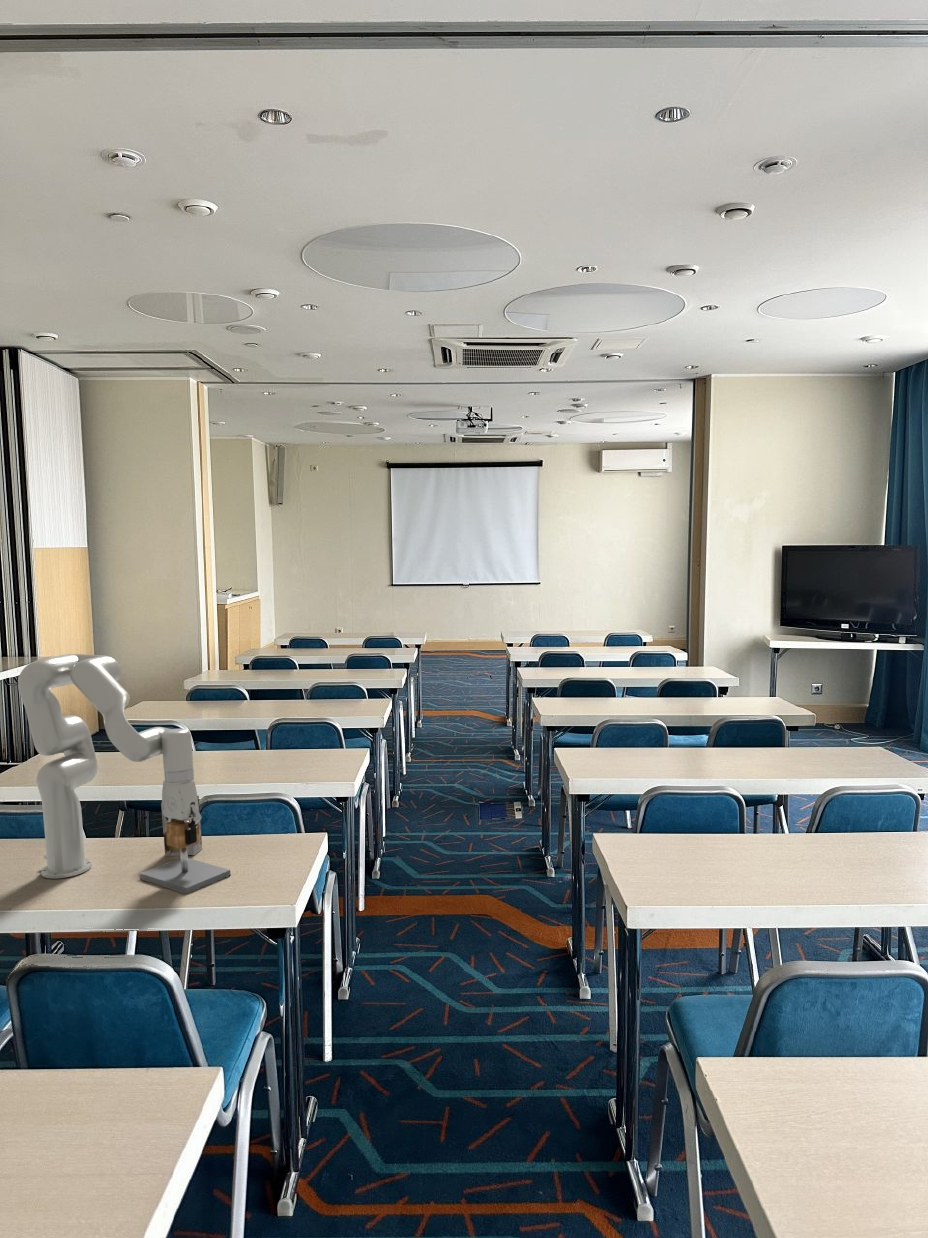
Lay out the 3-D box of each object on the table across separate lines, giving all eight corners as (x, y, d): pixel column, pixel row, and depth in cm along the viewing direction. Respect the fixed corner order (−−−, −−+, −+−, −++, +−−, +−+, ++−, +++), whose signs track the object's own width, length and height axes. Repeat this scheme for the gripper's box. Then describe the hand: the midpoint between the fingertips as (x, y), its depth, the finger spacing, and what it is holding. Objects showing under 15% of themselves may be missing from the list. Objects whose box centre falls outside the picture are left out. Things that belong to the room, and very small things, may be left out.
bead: (167, 845, 221) (165, 823, 220) (186, 838, 225) (184, 817, 225) (181, 848, 217) (179, 826, 217) (199, 842, 222) (198, 820, 222)
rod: (180, 872, 222) (178, 848, 221) (185, 870, 223) (184, 846, 223) (184, 873, 221) (182, 849, 220) (189, 871, 222) (188, 847, 222)
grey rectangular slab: (140, 878, 222) (139, 873, 222) (184, 862, 233) (183, 856, 233) (186, 893, 211) (186, 888, 210) (230, 875, 222) (230, 870, 222)
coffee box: (203, 848, 244) (199, 795, 243) (193, 856, 238) (190, 801, 237) (173, 848, 245) (170, 795, 244) (163, 856, 239) (160, 801, 238)
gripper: (147, 775, 222) (151, 840, 223) (187, 782, 212) (192, 851, 213) (171, 768, 228) (175, 832, 229) (211, 776, 218) (215, 842, 219)
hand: (183, 840), depth 221 cm, fingers closed on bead, 5 cm apart
